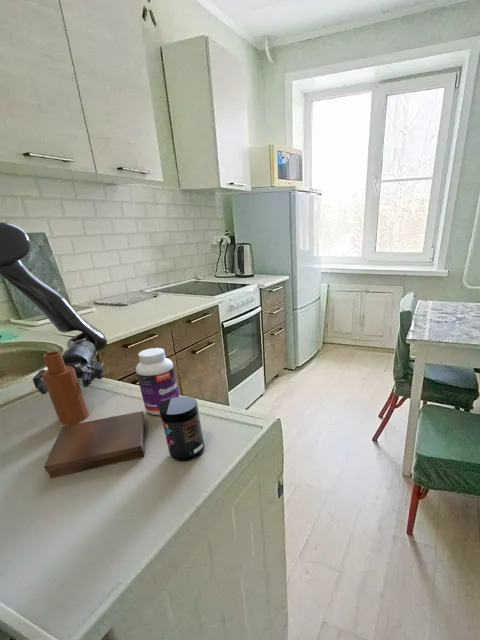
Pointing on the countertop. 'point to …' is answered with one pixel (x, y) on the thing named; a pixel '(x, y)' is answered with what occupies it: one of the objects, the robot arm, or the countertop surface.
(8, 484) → the countertop surface
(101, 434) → the brown wooden box
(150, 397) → the pill bottle
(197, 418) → the supplement container
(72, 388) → the bottle
